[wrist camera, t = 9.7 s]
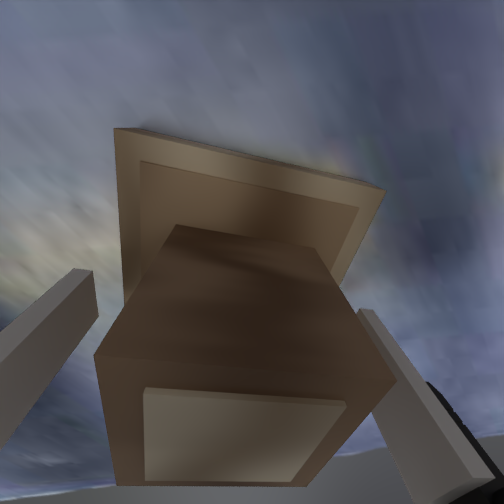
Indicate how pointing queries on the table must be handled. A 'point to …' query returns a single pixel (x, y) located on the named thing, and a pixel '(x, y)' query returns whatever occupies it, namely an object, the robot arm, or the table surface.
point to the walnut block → (234, 366)
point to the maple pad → (232, 201)
